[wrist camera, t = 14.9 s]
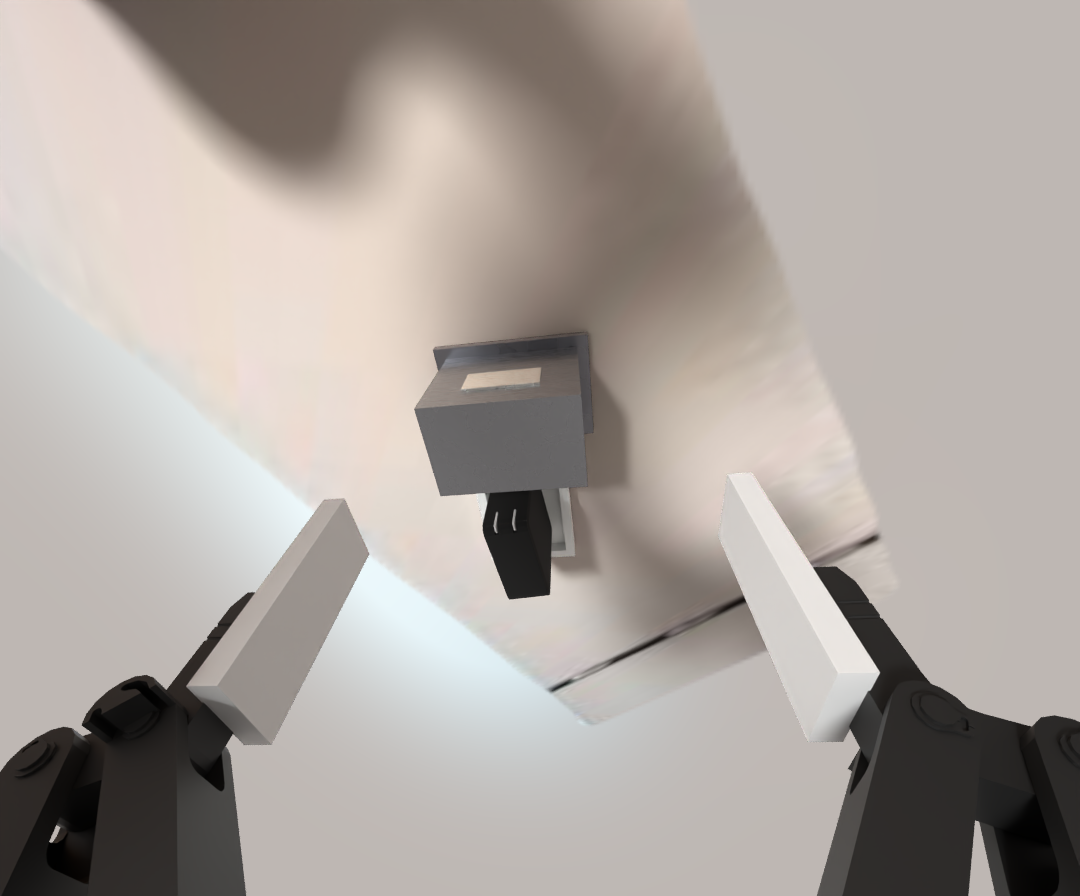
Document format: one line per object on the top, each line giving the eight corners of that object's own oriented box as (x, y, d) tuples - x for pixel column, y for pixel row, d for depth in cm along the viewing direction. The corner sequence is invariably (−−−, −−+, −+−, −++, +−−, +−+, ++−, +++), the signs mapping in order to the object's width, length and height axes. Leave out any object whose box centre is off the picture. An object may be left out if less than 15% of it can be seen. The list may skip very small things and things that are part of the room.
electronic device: (518, 532, 51) (509, 603, 42) (495, 464, 46) (480, 529, 37) (552, 528, 50) (550, 599, 42) (533, 458, 45) (526, 522, 37)
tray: (467, 438, 45) (464, 448, 43) (563, 431, 44) (563, 440, 42) (494, 549, 53) (492, 560, 52) (574, 545, 52) (575, 556, 51)
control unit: (435, 347, 40) (396, 397, 30) (587, 331, 38) (594, 379, 29) (458, 439, 45) (431, 506, 36) (592, 429, 43) (600, 495, 34)
